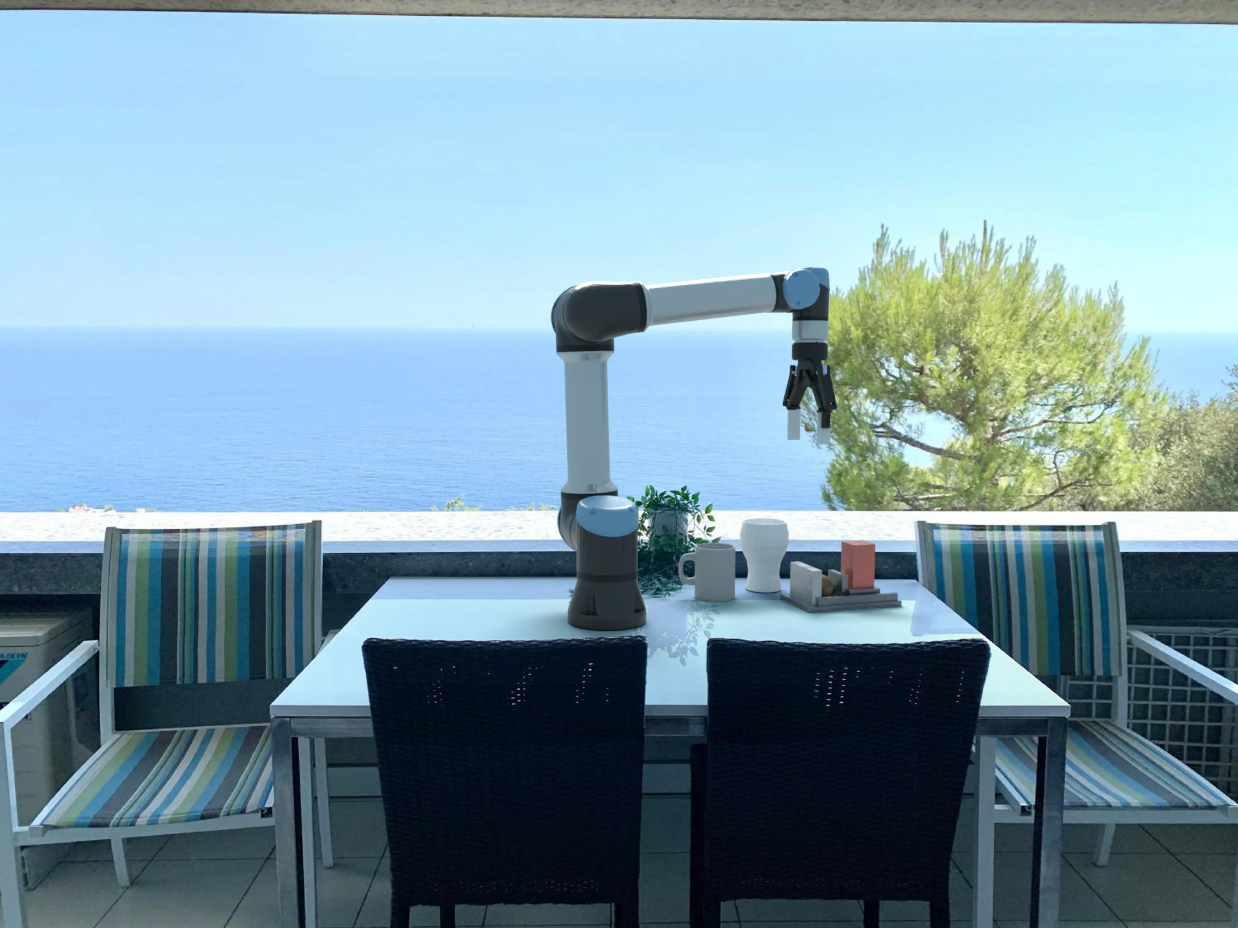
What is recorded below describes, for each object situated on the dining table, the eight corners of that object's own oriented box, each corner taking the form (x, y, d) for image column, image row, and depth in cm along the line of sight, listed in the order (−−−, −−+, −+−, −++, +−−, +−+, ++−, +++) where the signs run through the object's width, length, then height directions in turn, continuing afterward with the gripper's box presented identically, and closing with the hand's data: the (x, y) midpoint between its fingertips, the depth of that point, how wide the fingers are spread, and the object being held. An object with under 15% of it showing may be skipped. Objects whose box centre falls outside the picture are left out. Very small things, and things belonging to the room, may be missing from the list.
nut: (815, 602, 209) (815, 577, 208) (804, 596, 214) (804, 573, 213) (837, 600, 210) (837, 576, 210) (825, 595, 215) (826, 571, 215)
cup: (791, 594, 220) (792, 525, 219) (741, 594, 221) (742, 525, 219) (784, 584, 231) (785, 518, 229) (736, 583, 231) (737, 517, 230)
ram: (844, 600, 209) (845, 547, 208) (825, 592, 217) (826, 540, 216) (879, 597, 211) (881, 545, 210) (859, 589, 219) (861, 538, 218)
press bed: (808, 612, 204) (809, 572, 203) (780, 598, 216) (780, 560, 216) (901, 605, 210) (902, 567, 209) (868, 592, 223) (869, 556, 222)
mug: (732, 592, 222) (733, 542, 221) (736, 601, 213) (737, 549, 212) (677, 592, 222) (677, 542, 221) (679, 601, 213) (679, 549, 212)
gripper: (855, 340, 206) (853, 445, 208) (799, 343, 230) (797, 437, 232) (822, 340, 204) (819, 446, 206) (768, 342, 228) (766, 438, 230)
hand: (807, 442), depth 219 cm, fingers open, 13 cm apart
